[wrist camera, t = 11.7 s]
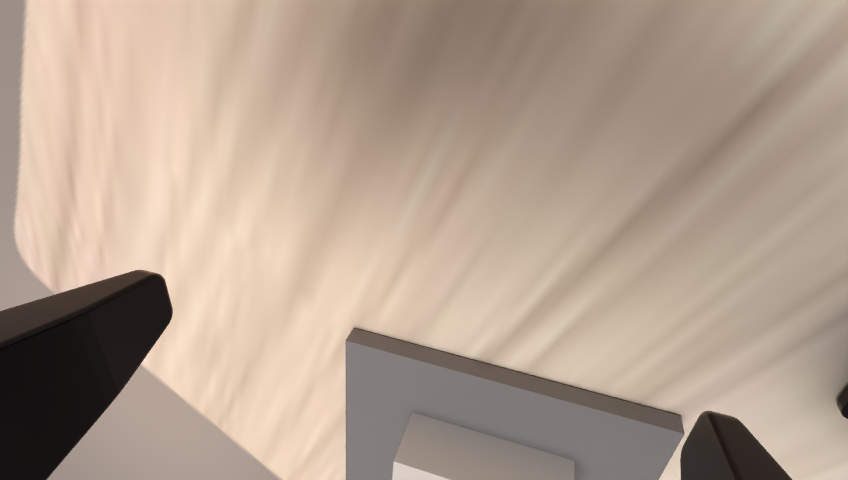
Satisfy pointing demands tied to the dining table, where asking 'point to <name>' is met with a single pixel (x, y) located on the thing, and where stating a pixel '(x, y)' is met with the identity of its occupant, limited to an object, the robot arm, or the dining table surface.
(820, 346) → the dining table surface
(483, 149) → the dining table surface
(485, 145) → the dining table surface
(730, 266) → the dining table surface
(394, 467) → the socket
